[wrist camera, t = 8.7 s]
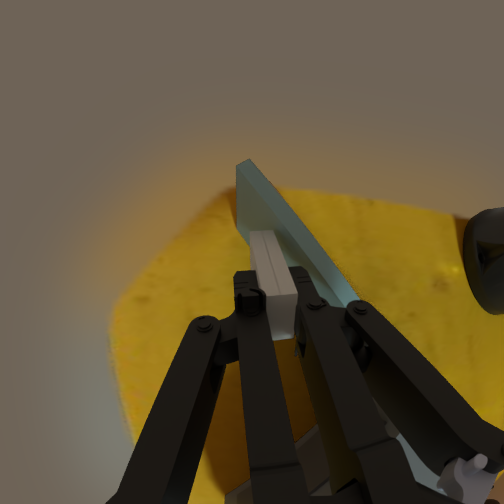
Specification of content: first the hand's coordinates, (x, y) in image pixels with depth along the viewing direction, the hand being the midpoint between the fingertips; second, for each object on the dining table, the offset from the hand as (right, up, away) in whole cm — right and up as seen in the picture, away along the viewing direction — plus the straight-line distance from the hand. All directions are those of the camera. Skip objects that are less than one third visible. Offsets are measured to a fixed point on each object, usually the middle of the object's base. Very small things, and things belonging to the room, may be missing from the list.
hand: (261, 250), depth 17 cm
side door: (+4, -5, +7) cm, 10 cm away
